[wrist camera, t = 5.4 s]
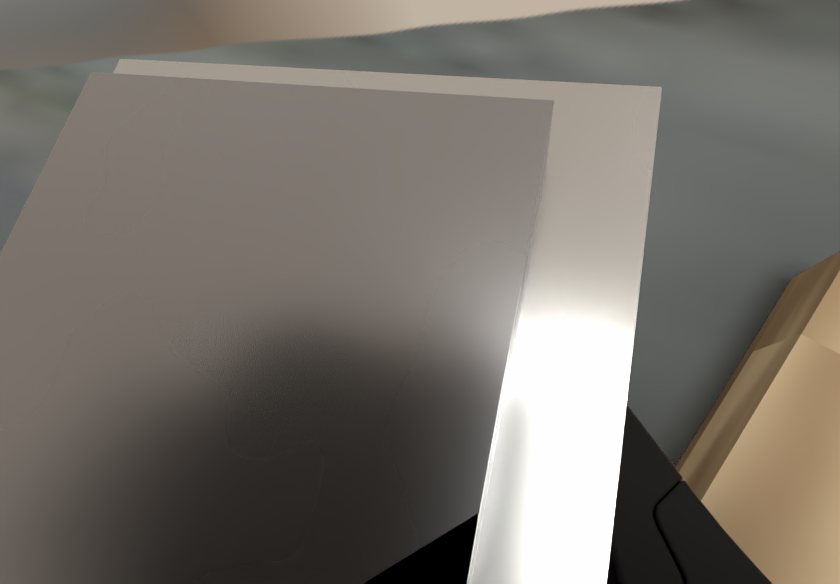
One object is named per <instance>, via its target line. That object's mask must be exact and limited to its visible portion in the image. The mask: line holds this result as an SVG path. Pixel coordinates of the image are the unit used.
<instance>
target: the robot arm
mask: <svg viewBox="0 0 840 584" xmlns="http://www.w3.org/2000/svg"><path fill="white" fill-rule="evenodd" d="M682 480H683V478H682V476H681V475H680V473H679V472H678V471H677V469H676V468H675V467H674V466H673V464H672V463H671V462H670V460H669V459H668V458H667V456H666V455H665V454H664V453H663V451H662V450H661V449H660V447H659V446H658V445H657V443H656V442H655V441H654V440H653V438H652V437H651V436H650V434H649V433H648V432H647V430H646V429H645V428H644V427H643V425H642V424H641V423H640V421H639V420H638V419H637V417H636V416H635V415H634V414H633V412H632V411H631V410H630V408H629V407H628V406H627V405H626V414H625V423H624V432H623V441H622V450H621V459H620V468H619V477H618V486H617V495H616V504H615V513H614V522H613V531H612V540H611V549H610V557H609V566H608V575H607V584H772V583H771V581H770V580H769V579H768V578H767V577H766V576H765V575H764V574H763V573H762V572H761V571H760V570H759V568H758V567H757V566H756V565H755V564H754V563H753V562H752V561H751V559H750V558H749V557H748V556H747V555H746V554H745V553H744V552H743V550H742V549H741V548H740V547H739V546H738V545H737V544H736V543H735V541H734V540H733V539H732V538H731V537H730V536H729V535H728V533H727V532H726V531H725V530H724V529H723V528H722V526H721V525H720V524H719V523H718V521H717V520H716V519H715V518H714V516H713V515H712V514H711V513H710V511H709V510H708V509H707V508H706V507H705V505H704V504H703V503H702V502H701V500H700V499H699V498H698V496H697V495H696V494H695V493H694V491H693V490H692V489H691V487H690V486H689V485H688V483H687V482H686V481H682Z"/></svg>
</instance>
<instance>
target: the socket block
mask: <svg viewBox="0 0 840 584" xmlns="http://www.w3.org/2000/svg"><path fill="white" fill-rule="evenodd" d="M675 468H676V469H677V471H678V472H679V473H680V475H681V476H682V478H683V480H682V481H686V482H687V483H688V485H689V486H690V487H691V489H692V490H693V491H694V493H695V494H696V495H697V496H698V498H699V499H700V500H701V502H702V503H703V504H704V505H705V507H706V508H707V509H708V510H709V511H710V513H711V514H712V515H713V516H714V518H715V519H716V520H717V521H718V523H719V524H720V525H721V526H722V528H723V529H724V530H725V531H726V532H727V533H728V535H729V536H730V537H731V538H732V539H733V540H734V541H735V543H736V544H737V545H738V546H739V547H740V548H741V549H742V550H743V552H744V553H745V554H746V555H747V556H748V557H749V558H750V559H751V561H752V562H753V563H754V564H755V565H756V566H757V567H758V568H759V570H760V571H761V572H762V573H763V574H764V575H765V576H766V577H767V578H768V579H769V580H770V581H771V583H772V584H840V251H839V252H837V253H836V254H834V255H832V256H831V257H829V258H827V259H825V260H824V261H822V262H820V263H818V264H817V265H815V266H813V267H812V268H810V269H808V270H806V271H805V272H803V273H801V274H799V275H798V276H796V277H794V278H792V279H791V280H790V282H789V284H788V285H787V287H786V289H785V290H784V292H783V293H782V295H781V297H780V298H779V300H778V302H777V303H776V305H775V306H774V308H773V310H772V311H771V313H770V315H769V316H768V318H767V319H766V321H765V323H764V324H763V326H762V328H761V329H760V331H759V332H758V334H757V336H756V337H755V339H754V340H753V342H752V344H751V345H750V347H749V349H748V350H747V352H746V353H745V355H744V357H743V358H742V360H741V362H740V363H739V365H738V366H737V368H736V370H735V371H734V373H733V375H732V376H731V378H730V379H729V381H728V383H727V384H726V386H725V388H724V389H723V391H722V392H721V394H720V396H719V397H718V399H717V401H716V402H715V404H714V405H713V407H712V409H711V410H710V412H709V414H708V415H707V417H706V418H705V420H704V422H703V423H702V425H701V426H700V428H699V430H698V431H697V433H696V435H695V436H694V438H693V439H692V441H691V443H690V444H689V446H688V448H687V449H686V451H685V452H684V454H683V456H682V457H681V459H680V461H679V462H678V464H677V465H676V467H675Z"/></svg>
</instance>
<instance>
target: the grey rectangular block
mask: <svg viewBox="0 0 840 584" xmlns="http://www.w3.org/2000/svg"><path fill="white" fill-rule="evenodd" d="M661 91H662V87H650V86H631V85H612V84H593V83H573V82H554V81H535V80H516V79H497V78H478V77H458V76H439V75H420V74H401V73H382V72H362V71H343V70H324V69H305V68H286V67H267V66H247V65H228V64H209V63H190V62H171V61H152V60H132V59H120V60H119V62H118V65H117V67H116V69H115V71H114V73H102V72H91V74H90V76H89V78H88V80H87V82H86V84H85V86H84V88H83V90H82V92H81V94H80V96H79V98H78V100H77V102H76V104H75V106H74V108H73V110H72V112H71V114H70V116H69V118H68V120H67V122H66V124H65V126H64V128H63V130H62V132H61V134H60V136H59V138H58V140H57V142H56V144H55V146H54V148H53V150H52V152H51V154H50V156H49V158H48V160H47V162H46V164H45V166H44V168H43V170H42V172H41V174H40V176H39V178H38V180H37V182H36V184H35V186H34V188H33V190H32V192H31V194H30V196H29V198H28V200H27V202H26V204H25V206H24V208H23V210H22V212H21V214H20V216H19V218H18V220H17V222H16V224H15V226H14V228H13V230H12V232H11V234H10V236H9V238H8V240H7V242H6V244H5V246H4V248H3V250H2V252H1V254H0V584H607V575H608V566H609V557H610V549H611V540H612V531H613V522H614V513H615V504H616V495H617V486H618V477H619V468H620V459H621V450H622V441H623V432H624V423H625V414H626V405H627V396H628V387H629V378H630V369H631V360H632V351H633V342H634V333H635V324H636V315H637V306H638V297H639V288H640V279H641V270H642V261H643V252H644V243H645V234H646V226H647V217H648V208H649V199H650V190H651V181H652V172H653V163H654V154H655V145H656V136H657V127H658V118H659V109H660V100H661Z"/></svg>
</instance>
